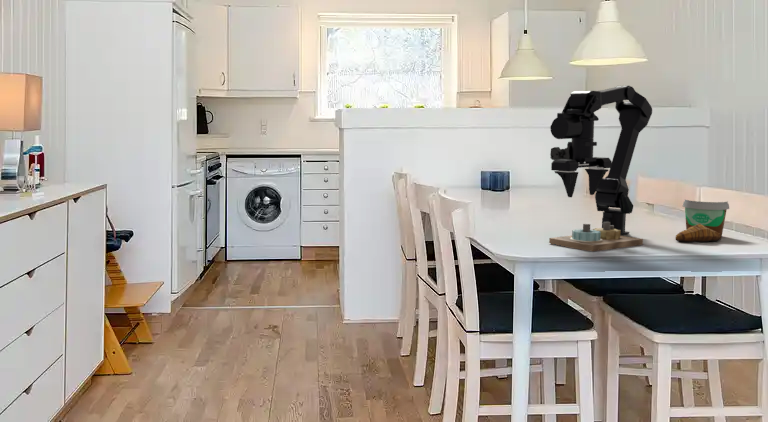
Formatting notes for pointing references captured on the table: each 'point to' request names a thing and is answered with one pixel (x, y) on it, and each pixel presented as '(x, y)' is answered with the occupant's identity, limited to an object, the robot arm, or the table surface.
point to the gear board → (607, 240)
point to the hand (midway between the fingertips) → (580, 196)
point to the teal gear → (586, 235)
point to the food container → (706, 214)
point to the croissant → (698, 234)
